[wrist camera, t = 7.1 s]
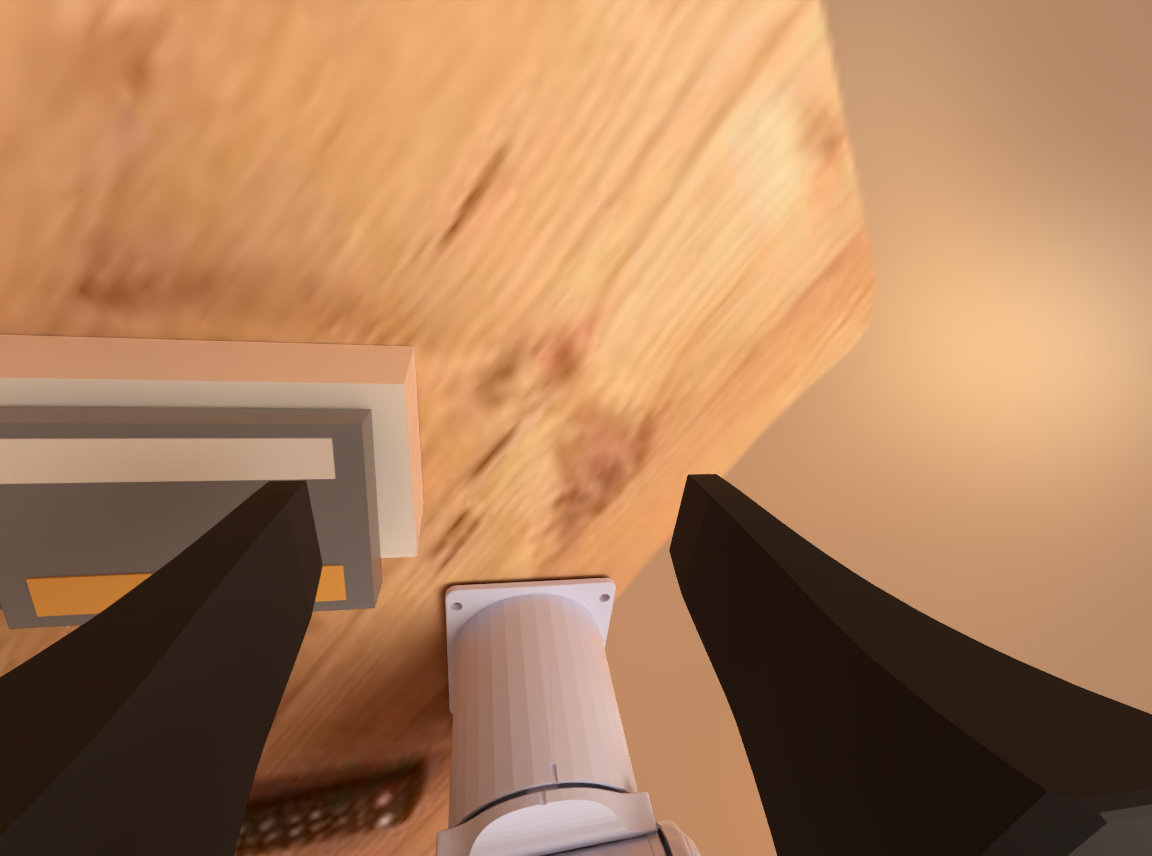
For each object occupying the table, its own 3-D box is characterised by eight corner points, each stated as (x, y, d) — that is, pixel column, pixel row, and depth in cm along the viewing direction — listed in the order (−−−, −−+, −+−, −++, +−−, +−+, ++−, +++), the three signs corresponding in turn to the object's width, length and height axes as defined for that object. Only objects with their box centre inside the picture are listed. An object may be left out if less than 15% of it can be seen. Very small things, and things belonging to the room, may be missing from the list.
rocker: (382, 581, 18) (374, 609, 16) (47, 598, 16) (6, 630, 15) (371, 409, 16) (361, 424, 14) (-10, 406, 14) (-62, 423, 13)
